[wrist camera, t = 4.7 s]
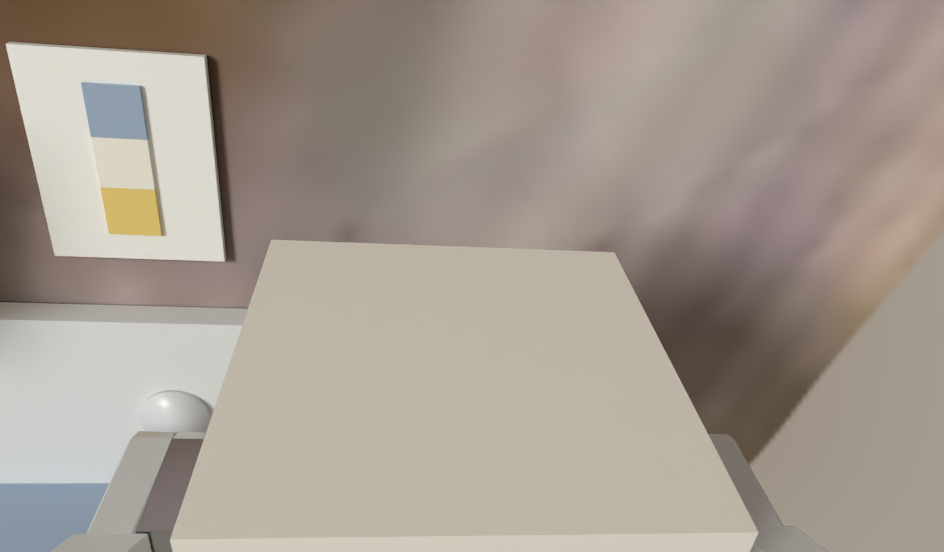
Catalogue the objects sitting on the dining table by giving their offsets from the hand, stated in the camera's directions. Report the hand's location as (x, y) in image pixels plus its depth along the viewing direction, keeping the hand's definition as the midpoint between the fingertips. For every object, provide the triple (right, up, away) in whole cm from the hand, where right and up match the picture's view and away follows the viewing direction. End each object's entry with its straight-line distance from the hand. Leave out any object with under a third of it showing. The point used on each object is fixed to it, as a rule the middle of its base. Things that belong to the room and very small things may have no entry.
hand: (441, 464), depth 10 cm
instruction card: (-8, +5, +6) cm, 11 cm away
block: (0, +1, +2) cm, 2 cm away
